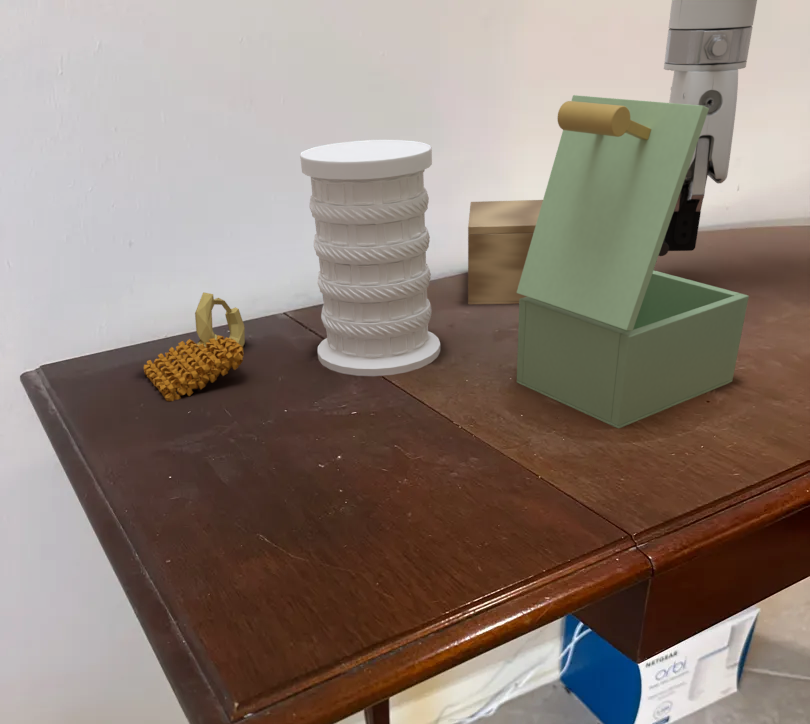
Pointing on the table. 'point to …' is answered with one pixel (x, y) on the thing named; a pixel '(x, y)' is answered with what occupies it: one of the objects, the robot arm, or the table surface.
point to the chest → (633, 351)
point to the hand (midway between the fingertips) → (678, 248)
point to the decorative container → (372, 255)
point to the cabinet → (499, 248)
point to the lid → (609, 204)
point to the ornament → (199, 353)
